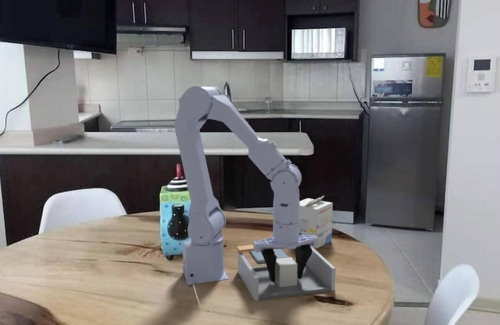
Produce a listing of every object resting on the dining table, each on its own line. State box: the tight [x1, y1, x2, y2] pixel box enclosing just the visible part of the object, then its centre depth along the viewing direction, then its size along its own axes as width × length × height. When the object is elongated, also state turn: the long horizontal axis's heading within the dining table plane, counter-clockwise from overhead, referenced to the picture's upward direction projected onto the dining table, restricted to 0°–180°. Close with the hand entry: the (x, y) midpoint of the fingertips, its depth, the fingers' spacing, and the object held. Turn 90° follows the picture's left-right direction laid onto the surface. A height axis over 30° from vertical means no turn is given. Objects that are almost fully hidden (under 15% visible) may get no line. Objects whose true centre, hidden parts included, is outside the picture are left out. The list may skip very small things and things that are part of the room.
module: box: [275, 256, 297, 287], centre depth 100 cm, size 4×4×5 cm
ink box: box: [299, 195, 334, 249], centre depth 125 cm, size 9×8×13 cm
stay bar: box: [236, 232, 302, 253], centre depth 106 cm, size 18×2×3 cm, turn 105°
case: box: [237, 246, 337, 302], centre depth 100 cm, size 18×15×6 cm
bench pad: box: [249, 249, 289, 264], centre depth 115 cm, size 8×8×1 cm
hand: (285, 278), depth 100 cm, fingers open, 6 cm apart
